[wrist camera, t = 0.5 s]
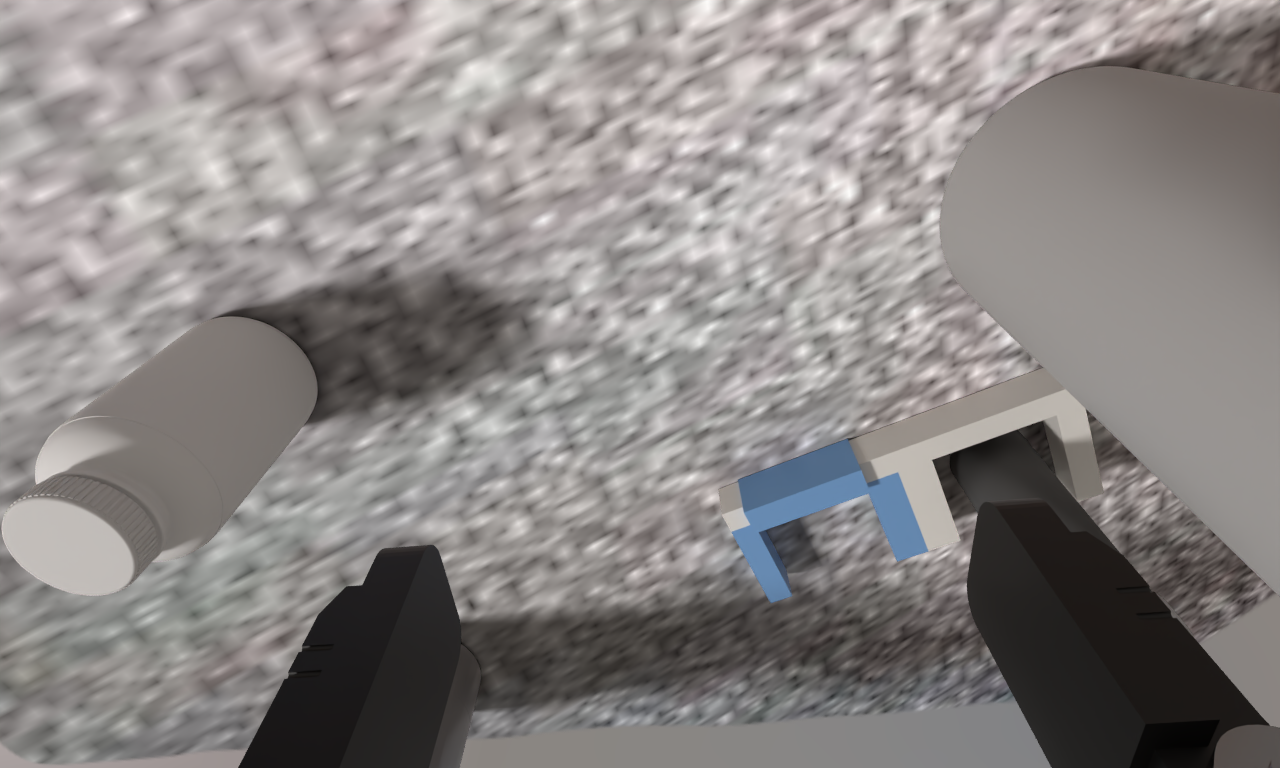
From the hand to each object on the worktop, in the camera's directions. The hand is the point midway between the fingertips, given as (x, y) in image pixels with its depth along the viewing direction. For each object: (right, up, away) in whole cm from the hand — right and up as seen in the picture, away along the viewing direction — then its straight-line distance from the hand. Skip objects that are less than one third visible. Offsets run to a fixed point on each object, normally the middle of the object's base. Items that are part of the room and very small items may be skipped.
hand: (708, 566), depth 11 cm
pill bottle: (-24, +3, +31) cm, 39 cm away
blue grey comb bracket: (+15, -3, +34) cm, 38 cm away
